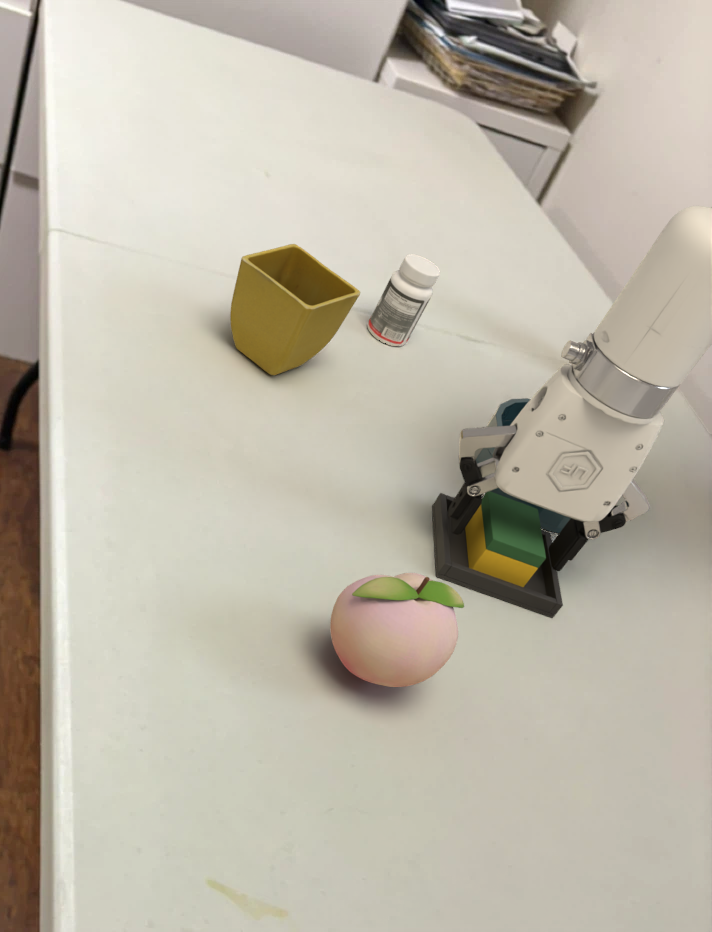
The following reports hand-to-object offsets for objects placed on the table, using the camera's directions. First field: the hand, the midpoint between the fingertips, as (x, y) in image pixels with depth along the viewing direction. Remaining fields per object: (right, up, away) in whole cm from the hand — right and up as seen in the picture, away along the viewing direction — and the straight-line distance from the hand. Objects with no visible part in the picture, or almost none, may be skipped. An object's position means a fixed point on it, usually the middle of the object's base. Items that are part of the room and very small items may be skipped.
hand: (504, 542), depth 96 cm
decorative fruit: (-15, -12, -14) cm, 23 cm away
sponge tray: (-1, -1, +2) cm, 2 cm away
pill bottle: (-6, +26, +23) cm, 36 cm away
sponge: (-1, -1, +1) cm, 2 cm away
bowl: (+7, +8, +13) cm, 16 cm away
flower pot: (-20, +20, +12) cm, 31 cm away
